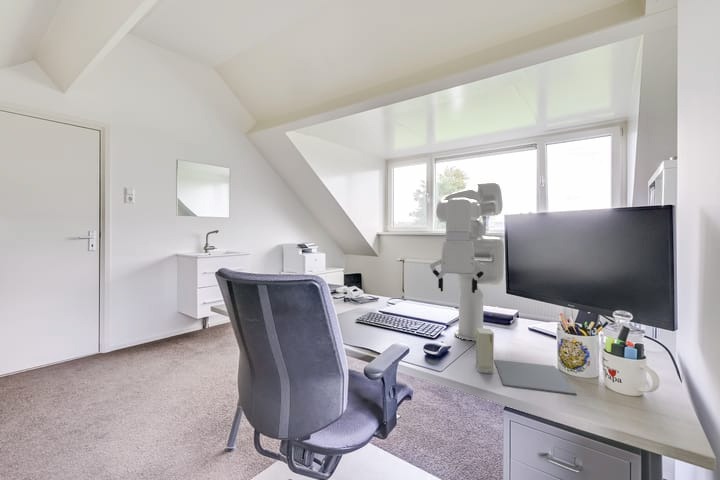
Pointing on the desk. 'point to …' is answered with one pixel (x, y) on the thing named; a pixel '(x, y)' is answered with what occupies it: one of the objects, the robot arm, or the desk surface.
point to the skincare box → (484, 350)
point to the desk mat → (532, 376)
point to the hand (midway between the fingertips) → (457, 291)
